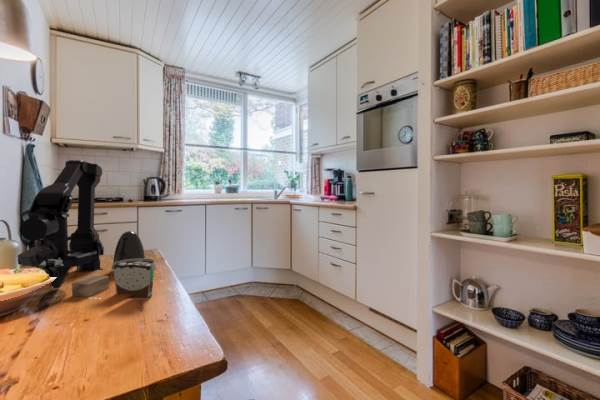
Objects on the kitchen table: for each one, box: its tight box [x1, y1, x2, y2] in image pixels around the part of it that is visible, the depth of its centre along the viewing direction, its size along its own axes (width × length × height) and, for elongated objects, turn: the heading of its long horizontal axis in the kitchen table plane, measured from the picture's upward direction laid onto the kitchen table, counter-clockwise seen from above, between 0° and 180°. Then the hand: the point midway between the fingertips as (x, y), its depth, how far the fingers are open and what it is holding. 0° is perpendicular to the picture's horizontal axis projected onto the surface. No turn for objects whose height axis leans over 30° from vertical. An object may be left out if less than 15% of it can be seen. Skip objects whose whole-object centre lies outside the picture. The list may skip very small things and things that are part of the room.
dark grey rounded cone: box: [112, 230, 146, 263], centre depth 104 cm, size 10×10×15 cm
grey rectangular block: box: [71, 275, 110, 298], centre depth 82 cm, size 5×7×4 cm
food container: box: [110, 258, 158, 300], centre depth 83 cm, size 12×6×10 cm, turn 85°
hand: (56, 287), depth 83 cm, fingers closed
